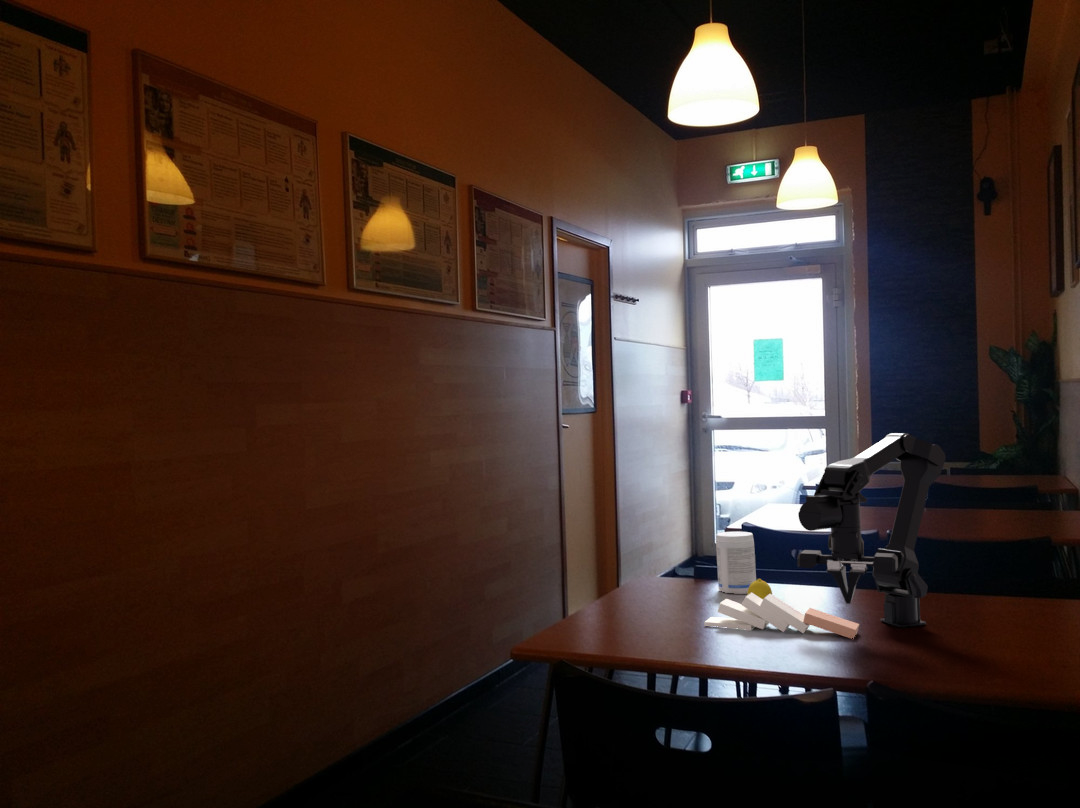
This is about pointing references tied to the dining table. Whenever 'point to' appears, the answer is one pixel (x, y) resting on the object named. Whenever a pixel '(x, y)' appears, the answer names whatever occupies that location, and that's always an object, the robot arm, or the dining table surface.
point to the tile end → (728, 623)
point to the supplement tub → (735, 561)
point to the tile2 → (785, 612)
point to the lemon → (759, 588)
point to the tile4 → (741, 613)
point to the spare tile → (831, 623)
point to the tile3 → (763, 611)
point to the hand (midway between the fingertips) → (848, 603)
